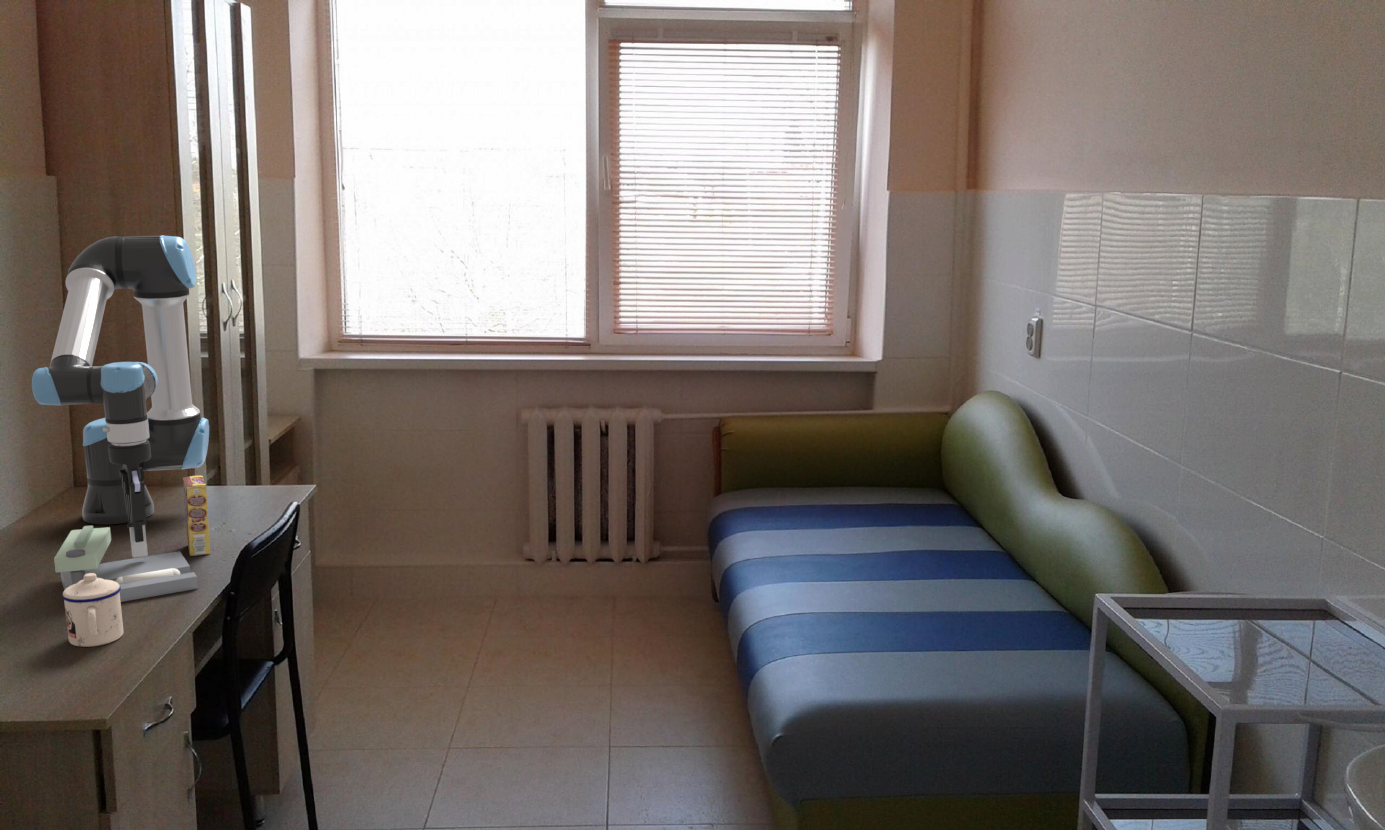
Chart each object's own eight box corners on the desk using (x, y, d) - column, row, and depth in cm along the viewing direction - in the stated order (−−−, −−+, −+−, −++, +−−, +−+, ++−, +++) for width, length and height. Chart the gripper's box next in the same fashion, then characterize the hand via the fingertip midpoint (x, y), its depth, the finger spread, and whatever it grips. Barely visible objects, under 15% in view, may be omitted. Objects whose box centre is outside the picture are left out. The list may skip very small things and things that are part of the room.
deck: (61, 581, 237) (58, 553, 236) (180, 562, 248) (178, 535, 247) (71, 610, 222) (68, 580, 221) (197, 588, 233) (195, 559, 232)
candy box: (212, 554, 254) (206, 484, 251) (190, 557, 252) (184, 486, 249) (208, 542, 262) (203, 474, 258) (187, 544, 260) (181, 476, 257)
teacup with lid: (68, 632, 212) (61, 569, 209) (125, 624, 215) (119, 562, 213) (64, 658, 201) (57, 592, 199) (124, 649, 205) (118, 584, 202)
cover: (96, 569, 225) (94, 549, 224) (54, 573, 223) (52, 553, 222) (111, 540, 243) (109, 521, 242) (72, 543, 241) (70, 524, 240)
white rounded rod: (114, 587, 232) (113, 575, 231) (179, 576, 238) (178, 564, 237) (116, 594, 230) (115, 582, 229) (182, 583, 236) (181, 571, 235)
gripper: (103, 437, 239) (114, 549, 244) (112, 450, 229) (124, 568, 234) (144, 432, 243) (154, 543, 248) (155, 445, 233) (165, 561, 238)
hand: (139, 555), depth 241 cm, fingers closed
